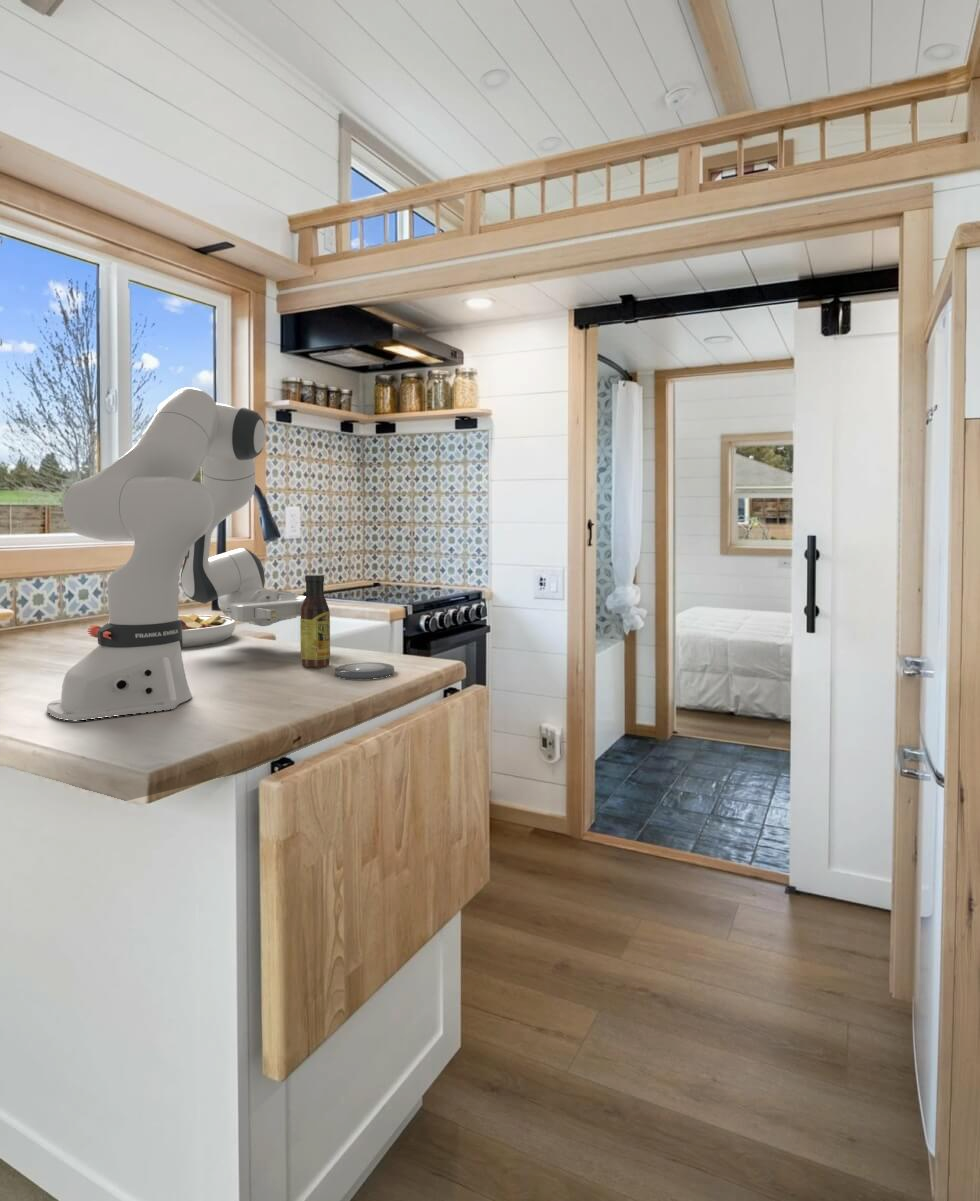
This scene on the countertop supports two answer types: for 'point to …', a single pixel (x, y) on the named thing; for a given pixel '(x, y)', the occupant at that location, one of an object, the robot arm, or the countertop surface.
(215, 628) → the bowl
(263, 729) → the countertop surface
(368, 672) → the slate trivet
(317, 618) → the sauce bottle
